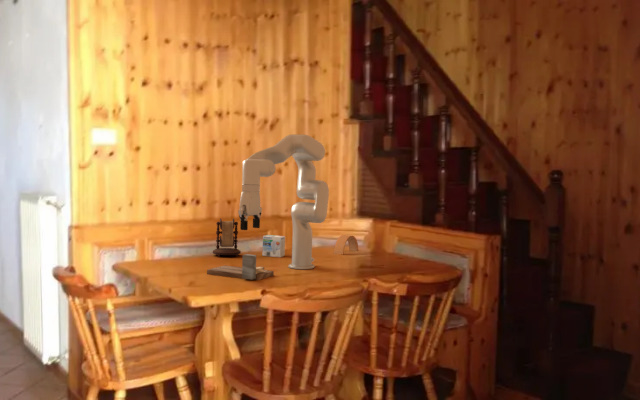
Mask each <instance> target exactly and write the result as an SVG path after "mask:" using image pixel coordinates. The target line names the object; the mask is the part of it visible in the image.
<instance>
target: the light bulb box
mask: <svg viewBox="0 0 640 400" xmlns="http://www.w3.org/2000/svg"><path fill="white" fill-rule="evenodd" d="M285 249H286V236H285V235H272V234H266V235H263V236H262V256H264V257H272V258H274V257H275V258H282V257H284V256H286V255H285V253H286V250H285Z"/></svg>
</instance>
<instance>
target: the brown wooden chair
mask: <svg viewBox="0 0 640 400" xmlns="http://www.w3.org/2000/svg"><path fill="white" fill-rule="evenodd" d="M238 225H239V223H238V221H235V218H234V217H233V218H232V221H230V220H227V221H226V220H225V221H223V220H222V218H220V219H219V221H216V232H215V233H216V241H215V242H216V247H215V249H214V250H212V254H213V255H217V257H218V258H220V256H235V257H236V258H238V256H239V255H240V254H241V253H242V251H241V250H240V249H239V248H238V240H239V239H238V233H239V230H238V229H239V228H238ZM233 247H234V248H233Z"/></svg>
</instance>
